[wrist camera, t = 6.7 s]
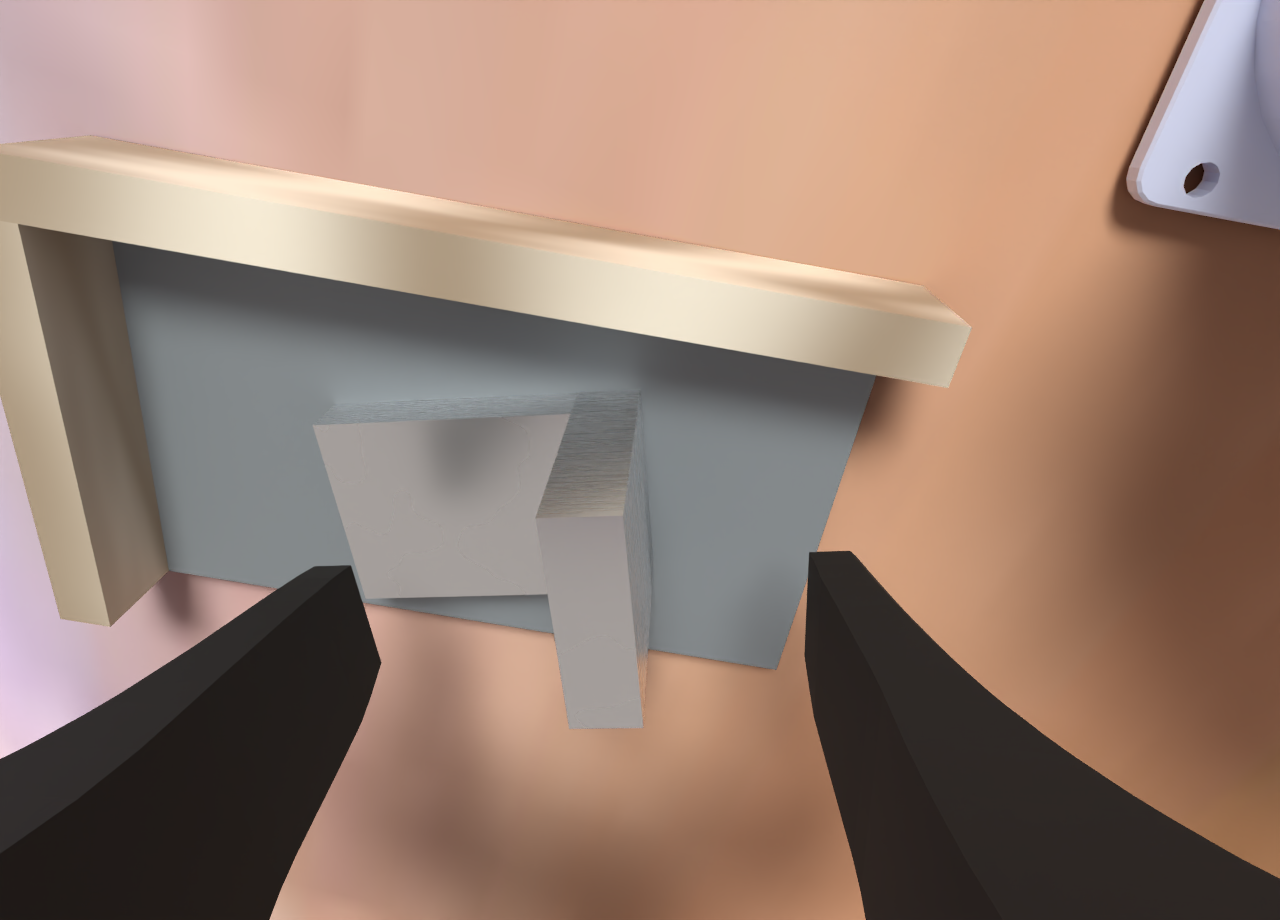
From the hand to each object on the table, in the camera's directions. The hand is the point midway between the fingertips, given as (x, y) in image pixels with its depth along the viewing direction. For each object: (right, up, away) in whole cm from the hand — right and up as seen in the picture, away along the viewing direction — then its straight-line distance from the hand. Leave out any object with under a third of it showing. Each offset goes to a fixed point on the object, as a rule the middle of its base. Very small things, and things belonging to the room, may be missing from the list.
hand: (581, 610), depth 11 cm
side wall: (-9, +4, +4) cm, 11 cm away
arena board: (-2, +2, +4) cm, 5 cm away
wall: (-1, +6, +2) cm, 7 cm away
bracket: (-2, +2, +3) cm, 4 cm away
